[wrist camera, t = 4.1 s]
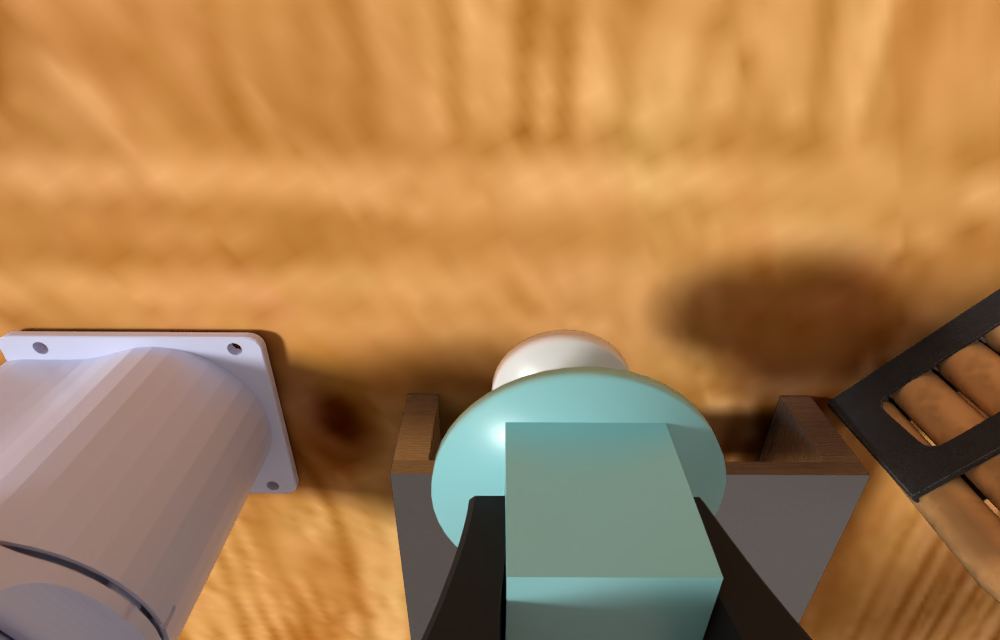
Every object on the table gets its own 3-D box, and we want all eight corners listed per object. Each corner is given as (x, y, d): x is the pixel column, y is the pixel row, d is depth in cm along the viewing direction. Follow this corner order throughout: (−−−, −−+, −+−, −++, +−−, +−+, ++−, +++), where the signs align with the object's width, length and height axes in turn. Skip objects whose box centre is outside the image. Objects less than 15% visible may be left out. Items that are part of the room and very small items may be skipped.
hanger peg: (450, 470, 16) (422, 745, 10) (440, 285, 13) (391, 527, 7) (659, 471, 16) (747, 746, 10) (697, 286, 13) (856, 531, 7)
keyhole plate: (435, 686, 33) (427, 771, 30) (407, 394, 22) (390, 473, 19) (702, 686, 34) (727, 771, 30) (810, 396, 22) (870, 475, 19)
